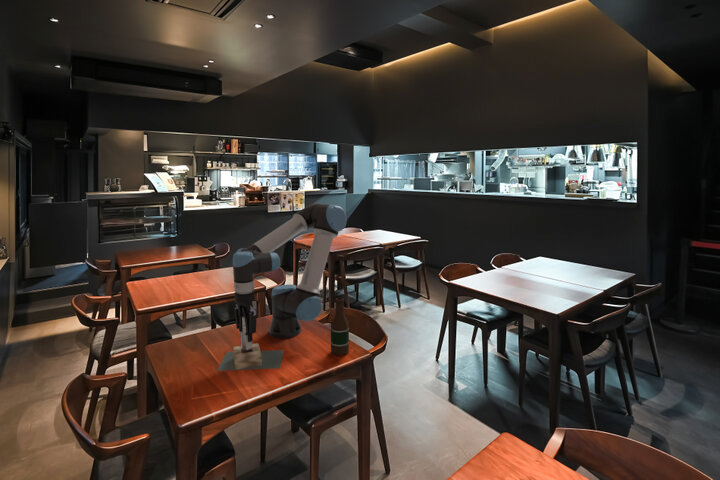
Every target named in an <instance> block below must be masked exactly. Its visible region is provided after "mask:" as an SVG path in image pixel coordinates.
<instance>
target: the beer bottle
mask: <svg viewBox="0 0 720 480" xmlns="http://www.w3.org/2000/svg"><path fill="white" fill-rule="evenodd" d="M344 302H345V300H344V298H343V297H337V298H335V312H334V313H335V314H334V317H333V318H332V320H331V322H330V352H331V353H332V355H333V356H337V355H338V357H341V356H340V355H342V356H347V354H348V353H349V352H350V351H349V350H350V323H349V322H348V319H347V318H346V315H345V303H344Z"/></svg>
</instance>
